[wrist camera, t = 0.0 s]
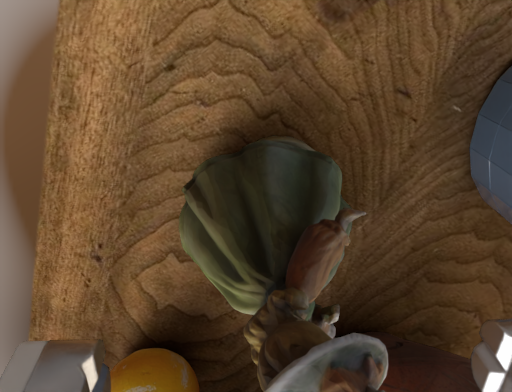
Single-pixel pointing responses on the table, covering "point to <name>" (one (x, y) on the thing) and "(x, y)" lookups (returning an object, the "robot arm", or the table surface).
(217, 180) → the figurine
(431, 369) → the bowl
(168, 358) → the fruit
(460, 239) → the table surface
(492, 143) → the glazed bowl
